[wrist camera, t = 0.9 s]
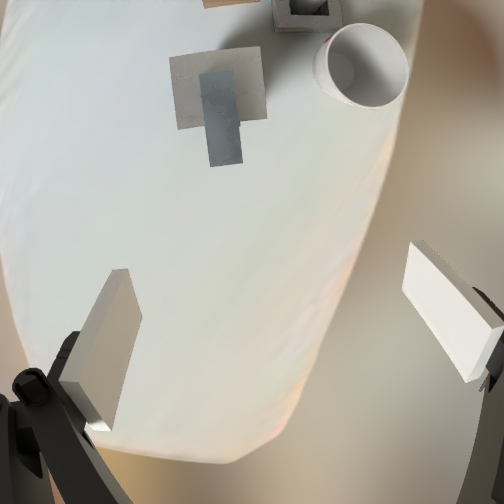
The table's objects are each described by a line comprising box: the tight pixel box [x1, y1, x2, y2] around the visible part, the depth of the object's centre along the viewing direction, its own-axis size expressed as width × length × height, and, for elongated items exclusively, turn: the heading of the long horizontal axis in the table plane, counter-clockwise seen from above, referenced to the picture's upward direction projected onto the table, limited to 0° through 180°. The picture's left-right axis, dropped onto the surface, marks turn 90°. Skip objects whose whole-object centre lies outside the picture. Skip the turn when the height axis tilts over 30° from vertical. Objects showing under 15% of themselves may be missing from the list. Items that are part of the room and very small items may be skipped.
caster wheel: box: [169, 46, 267, 167], centre depth 27 cm, size 10×7×13 cm
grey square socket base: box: [271, 0, 343, 33], centre depth 27 cm, size 7×7×3 cm
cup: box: [313, 23, 409, 109], centre depth 28 cm, size 8×8×10 cm
